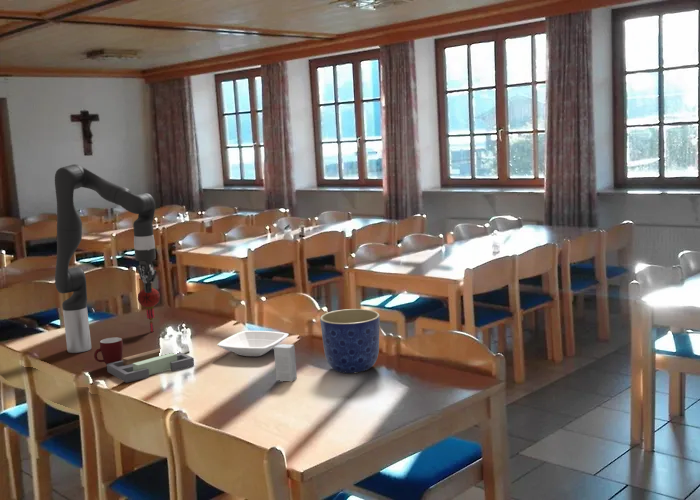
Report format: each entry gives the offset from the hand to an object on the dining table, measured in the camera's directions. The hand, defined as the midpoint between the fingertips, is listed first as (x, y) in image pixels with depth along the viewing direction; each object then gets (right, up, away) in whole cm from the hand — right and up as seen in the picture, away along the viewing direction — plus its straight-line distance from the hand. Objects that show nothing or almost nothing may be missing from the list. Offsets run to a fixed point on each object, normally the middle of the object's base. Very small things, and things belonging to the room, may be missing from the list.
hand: (148, 292), depth 309 cm
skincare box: (+55, -28, -31) cm, 69 cm away
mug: (-13, -28, -5) cm, 31 cm away
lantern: (-9, -19, +43) cm, 48 cm away
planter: (+77, -26, -23) cm, 84 cm away
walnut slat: (+1, -27, -6) cm, 28 cm away
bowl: (+40, -24, +3) cm, 46 cm away
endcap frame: (+3, -27, -10) cm, 29 cm away
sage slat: (+6, -28, -14) cm, 32 cm away
